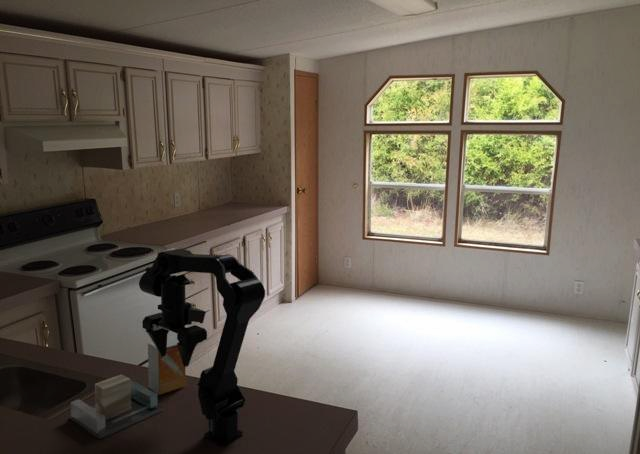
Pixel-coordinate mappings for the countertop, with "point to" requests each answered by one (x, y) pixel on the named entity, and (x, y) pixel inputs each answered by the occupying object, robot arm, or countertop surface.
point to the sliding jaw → (143, 395)
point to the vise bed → (102, 427)
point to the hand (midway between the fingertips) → (174, 361)
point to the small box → (165, 368)
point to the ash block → (113, 396)
